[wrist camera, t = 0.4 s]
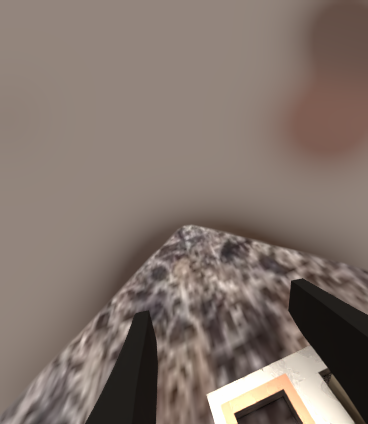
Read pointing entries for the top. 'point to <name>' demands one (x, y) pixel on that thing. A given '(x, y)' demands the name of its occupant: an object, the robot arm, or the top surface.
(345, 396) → the peg
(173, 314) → the top surface
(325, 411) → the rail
